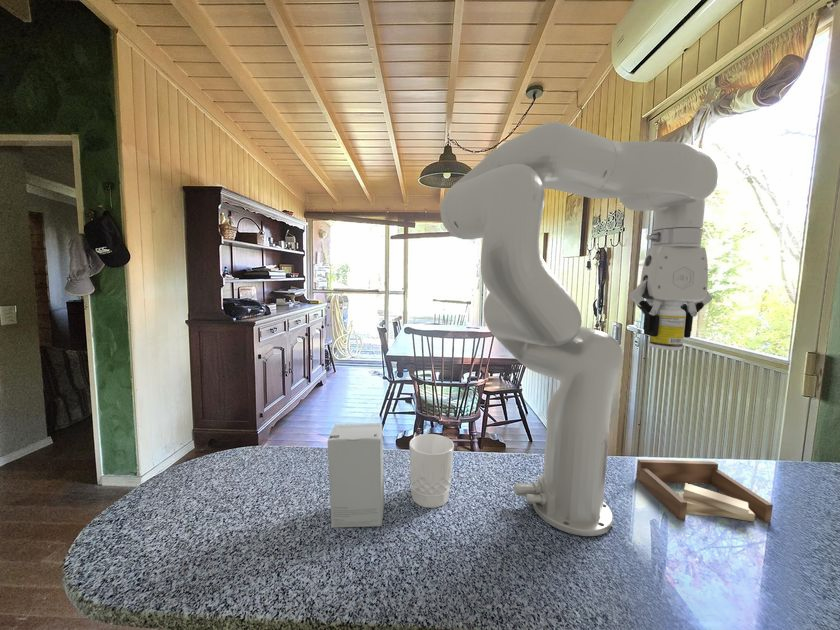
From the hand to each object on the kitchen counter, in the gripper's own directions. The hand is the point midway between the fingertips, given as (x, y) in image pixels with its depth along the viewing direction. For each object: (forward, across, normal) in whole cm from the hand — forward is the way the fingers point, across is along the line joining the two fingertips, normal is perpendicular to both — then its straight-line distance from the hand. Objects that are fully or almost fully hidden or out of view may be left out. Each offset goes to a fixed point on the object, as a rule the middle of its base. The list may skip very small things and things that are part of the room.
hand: (666, 335), depth 69 cm
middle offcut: (+29, +4, -10) cm, 31 cm away
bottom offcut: (+30, +4, -10) cm, 32 cm away
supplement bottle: (+3, 0, 0) cm, 3 cm away
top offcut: (+27, +4, -10) cm, 30 cm away
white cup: (+30, -45, -8) cm, 54 cm away
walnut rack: (+29, +4, -7) cm, 30 cm away
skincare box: (+30, -57, -14) cm, 66 cm away
